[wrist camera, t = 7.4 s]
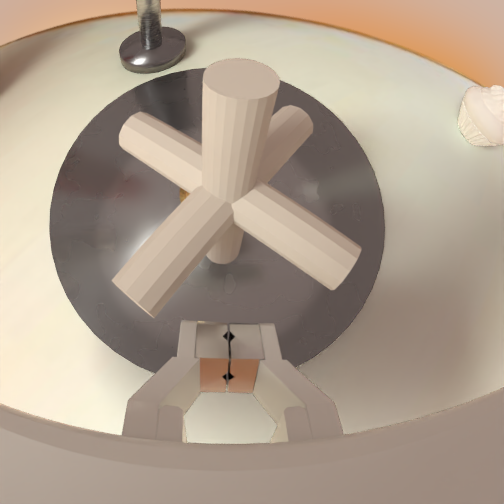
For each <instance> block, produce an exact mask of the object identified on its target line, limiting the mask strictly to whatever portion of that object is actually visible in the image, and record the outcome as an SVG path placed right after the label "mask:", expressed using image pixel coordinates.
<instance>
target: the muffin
mask: <svg viewBox="0 0 504 504" xmlns="http://www.w3.org/2000/svg"><path fill="white" fill-rule="evenodd" d="M457 122H458V123H457V124H458V127H459V129H460V131H461V133H462V135H463V136H464V137H465V138H466V140H467V141H468V142H470V143H471V144H472V145H474V146H497V145H499V144H500V145H504V88H503V87H501V86H498V85H493V86H492V87H491V88H488V87H485V88H481V87H476V86H473V87H470V88H468V89H467V91H466V93H465V97H464V98H463V100H462V104H461V108H460V113H459V117H458V121H457Z"/></svg>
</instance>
